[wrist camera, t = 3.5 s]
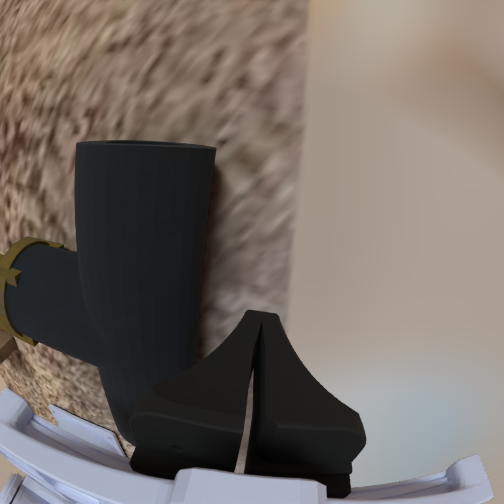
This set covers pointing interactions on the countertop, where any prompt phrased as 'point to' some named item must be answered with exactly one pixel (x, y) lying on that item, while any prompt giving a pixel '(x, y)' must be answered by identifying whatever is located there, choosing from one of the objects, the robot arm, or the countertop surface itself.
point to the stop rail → (6, 345)
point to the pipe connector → (120, 268)
